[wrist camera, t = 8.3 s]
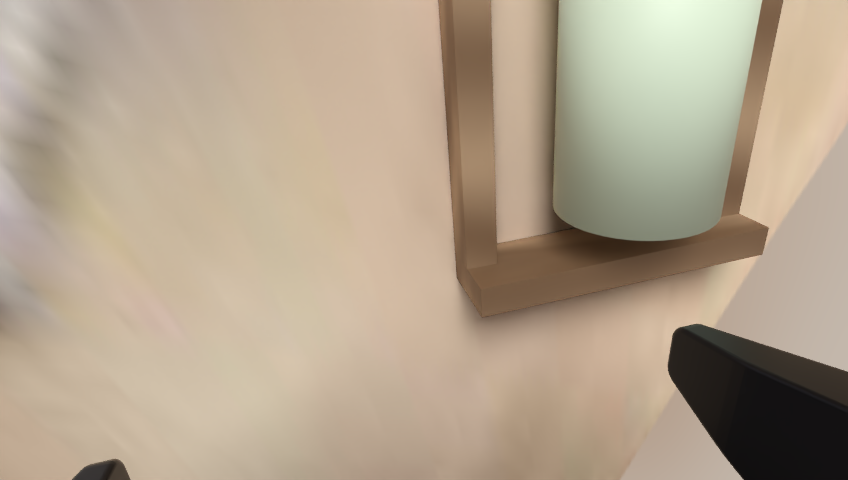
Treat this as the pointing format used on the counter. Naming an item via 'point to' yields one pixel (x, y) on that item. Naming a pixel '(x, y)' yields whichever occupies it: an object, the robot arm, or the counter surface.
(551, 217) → the counter surface
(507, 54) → the counter surface
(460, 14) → the holder
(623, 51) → the roll
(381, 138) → the counter surface
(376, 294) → the counter surface
